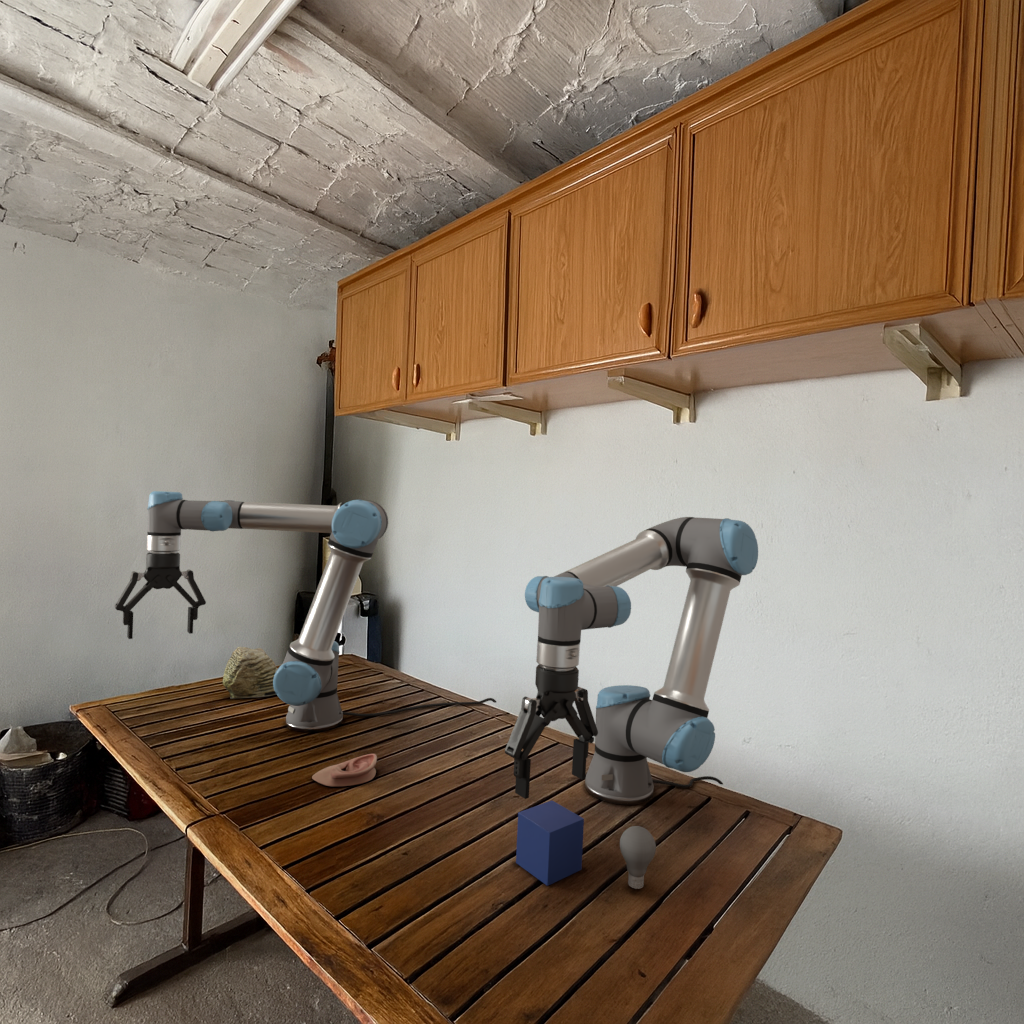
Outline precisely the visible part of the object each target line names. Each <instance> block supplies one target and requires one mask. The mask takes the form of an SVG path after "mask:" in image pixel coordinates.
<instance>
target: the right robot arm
mask: <svg viewBox="0 0 1024 1024" xmlns="http://www.w3.org/2000/svg"><path fill="white" fill-rule="evenodd" d="M758 559H759V544H758V539H757V537H756V534H755V531H754V530H753V528H752V527H751V526H750V525H749V524H748V523H746V522H745V521H744V520H738V519H731V518H727V517H725V518H713V517H712V518H711V517H695V516H682V517H677V518H673V519H669V520H666V521H664V522H661V523H658V524H655V525H653V526H652V527H651V526H650V527H649V528H647V529H645V530H642V531H640V532H639V533H638V534H637V535H636V537H635V539H633V540H631V541H629V542H626V543H624V544H622V545H620V546H618V547H616V548H614V549H611V550H609V551H607V552H604V553H602V554H601V555H597V556H596V557H593V558H592V559H589V560H587V561H584V562H582V563H580V564H578V565H576V566H574V567H571V568H570V569H568V570H566V571H563V572H561V573H559V574H557V575H554V576H548V575H543V576H542V575H538V576H534V577H533V578H531V579H530V580H529V581H528V582H527V585H526V587H525V590H524V600H525V603H526V605H527V607H528V608H529V609H530V610H531V611H533V612H536V613H538V627H537V630H538V631H537V643H536V659H535V660H536V661H535V662H536V663H537V664H538V665H537V666H536V667H535V681H534V682H535V683H534V685H535V687H536V689H537V693H536V696H535V697H533V698H532V697H528V696H523V697H522V700H521V708H520V711H519V713H518V716H517V719H516V720H515V722H514V723H515V724H514V726H513V729H512V731H511V733H510V736H509V738H508V741H507V744H506V746H505V749H504V754H505V755H507V756H509V757H511V758H512V759H513V776H514V777H515V788H514V793H515V794H516V795H518V796H520V797H521V798H523V799H525V800H527V799H529V798H530V784H531V783H530V782H531V763H532V762H531V761H532V759H531V758H529V755H530V754H531V751H532V750H533V748H534V747H535V745H536V743H537V741H538V740H539V738H540V736H541V735H542V733H543V731H544V729H545V728H546V727H548V726H550V724H551V722H556V721H557V720H564V719H565V720H566V722H567V723H568V725H569V726H570V728H571V729H572V731H573V733H574V734H575V736H576V737H577V738H573V742H572V743H573V745H572V765H571V775H572V776H574V777H576V778H577V779H580V780H581V781H583V780H584V787H585V790H586V791H587V792H588V793H589V794H590V795H591V796H592V797H594V798H596V799H598V800H600V801H603V802H606V803H610V804H615V805H621V806H622V805H623V806H627V805H628V806H631V805H632V806H633V805H640V804H644V803H647V802H648V801H650V800H651V799H653V796H654V784H659V785H664V786H665V785H666V786H670V787H677V788H682V789H690V788H691V787H692V786H693V784H694V783H695V782H699V781H706V780H708V781H709V780H710V781H714V782H717V783H718V784H719V785H724V783H723V782H722V781H721V780H720V779H719V778H718V777H716V776H711V775H706V776H705V775H704V776H699V777H693V778H691V779H690V780H689V783H688V784H684V783H683V784H682V783H676V782H672V781H665V780H659V779H653V776H652V774H651V770H650V766H649V762H648V759H650V760H653V761H654V762H657V763H659V764H661V765H664V766H665V767H666V768H668V769H672V770H676V771H679V772H681V773H691V772H694V771H696V770H698V769H700V767H702V765H704V764H705V763H706V761H707V760H708V759H709V757H710V755H711V753H712V751H713V748H714V745H715V742H716V741H715V740H716V733H715V730H716V728H715V725H714V723H713V722H712V721H711V720H710V719H709V712H710V708H709V706H708V705H707V703H706V701H705V696H706V692H707V688H708V684H709V680H710V676H711V673H712V669H713V668H712V667H713V664H714V660H715V656H716V651H717V648H718V645H719V644H718V643H719V639H720V634H721V631H722V628H723V623H724V620H725V619H724V618H725V614H726V610H727V606H728V602H729V598H730V595H731V591H732V590H733V589H735V588H738V587H739V586H740V584H741V580H742V577H743V576H747V575H749V574H752V573H753V571H754V570H755V568H756V567H757V564H758ZM665 567H684V568H685V573H686V574H687V576H688V578H689V586H688V588H687V594H686V596H685V601H684V604H683V609H682V612H681V616H680V620H679V624H678V628H677V632H676V635H675V640H674V644H673V646H672V651H671V655H670V660H669V663H668V667H667V671H666V674H665V678H664V682H663V686H662V687H661V688H659V689H657V690H655V691H654V692H653V696H652V699H650V697H651V692H650V690H649V689H648V688H647V687H645V686H640V685H629V684H626V685H625V684H623V685H622V684H621V685H611V686H607V687H604V688H602V689H600V691H598V693H597V699H596V705H595V718H594V715H593V712H592V709H591V705H590V703H589V690H588V689H586V688H583V687H580V686H579V675H580V670H579V669H578V666H579V665H580V653H581V652H580V650H581V640H582V631H584V630H594V629H602V628H603V629H604V628H608V629H610V628H613V627H617V626H620V625H623V624H624V623H626V622H627V621H628V620H629V618H630V616H631V613H632V601H631V598H630V596H629V593H627V591H626V590H625V589H623V588H622V587H620V585H622V584H624V583H626V582H628V581H630V580H632V579H635V578H636V577H638V576H639V575H641V574H644V573H646V572H648V571H650V570H652V571H660V570H662V569H664V568H665ZM573 704H575V707H576V709H575V707H574V706H573ZM593 743H594V753H593V756H592V757H591V761H590V764H589V767H588V768H587V759H588V758H589V748H590V747H589V745H590V744H593ZM586 771H587V772H586Z"/></svg>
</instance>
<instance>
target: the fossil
mask: <svg viewBox="0 0 1024 1024" xmlns="http://www.w3.org/2000/svg"><path fill="white" fill-rule="evenodd" d="M278 668H279V667H277V665H276V663H275V662H274V660H273V659H272V658H271V657H270V656H269V655H268V654H267V653H266V652H265V650H264V649H263V648H260V647H258V648H251V647H247V646H246V647H245V646H238V647H237V648H236V649H235V650H233V651H232V653H231V656H230V657H229V659H228V660H227V663H226V666H225V668H224V671H223V675H222V676H223V677H222V685H223V687H224V688H225V690H226V691H228V693H229V698H230V699H250V698H264V697H271V696H275V695H277V694H276V692H275V691H274V687H273V679H274V675H275V673H276V671H277V670H278Z"/></svg>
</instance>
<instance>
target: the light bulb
mask: <svg viewBox="0 0 1024 1024" xmlns="http://www.w3.org/2000/svg"><path fill="white" fill-rule="evenodd" d="M619 851H620V854H621V855H622V858H623V859H624V862H625V863H626V870H627V873H628V875H627V877H628V878H627V884H628V886H629V887H630V888H632V889H635V890H640V889H642V888H644V885H645V875H646V873H647V870H648V867H649V865H650V863H651V862H652V861H653V859H654V857H655V855H656V852H657V844H656V840H655V839H654V836H653V835H652V833H651V832H650V830H648V829H647V828H645V827H643V826H640V825H632V826H630V827H627V828H626V829H625V830H624V831H623V832H622V834H621V835H620V838H619Z"/></svg>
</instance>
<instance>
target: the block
mask: <svg viewBox="0 0 1024 1024" xmlns="http://www.w3.org/2000/svg"><path fill="white" fill-rule="evenodd" d="M584 826H585V818H584V817H583V816H581V815H578V814H576V813H575V812H573V811H572V810H570V809H568V808H567V807H565V806H564V805H561V804H559V803H558V802H556V801H554V800H548V801H546V802H543V803H541V804H538V805H535V806H532V807H530V808H527V809H524V810H521V811H518V813H517V830H516V833H517V834H516V855H515V864H517V866H519V867H521V868H522V869H523V870H525V871H526V872H527V873H529V874H531V875H532V876H533V877H534V878H536V879H537V880H538V881H540V882H541V883H542V884H544V885H545V886H546V887H549V886H550V885H553V884H554V883H557V882H559V881H561V880H563V879H565V878H567V877H570V876H571V875H574V874H576V873H577V872H579V871H582V869H583V850H584V828H585V827H584Z"/></svg>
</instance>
